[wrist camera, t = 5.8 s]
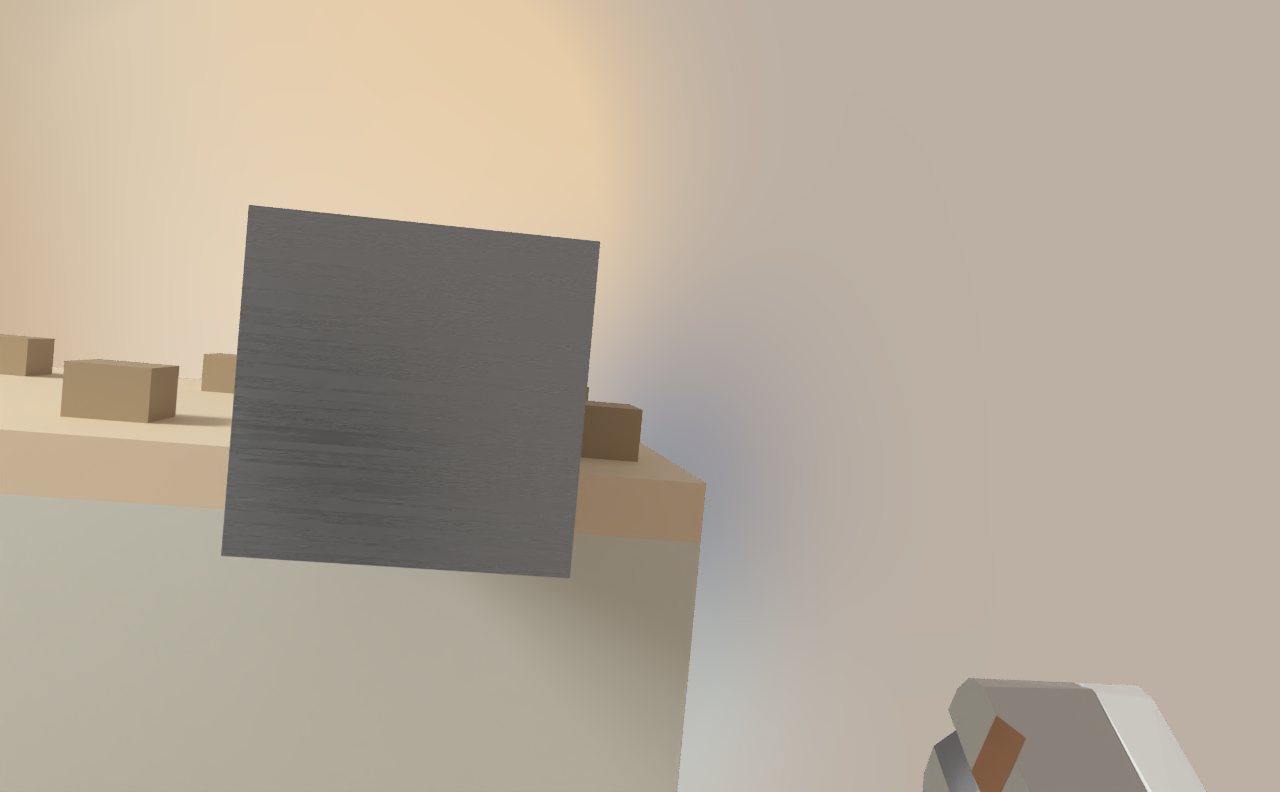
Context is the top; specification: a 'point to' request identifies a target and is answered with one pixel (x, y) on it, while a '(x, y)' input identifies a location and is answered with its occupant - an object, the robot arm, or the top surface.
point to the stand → (313, 617)
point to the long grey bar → (408, 394)
